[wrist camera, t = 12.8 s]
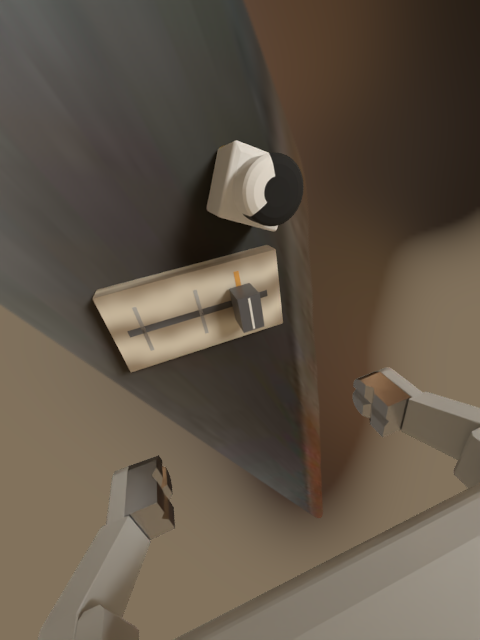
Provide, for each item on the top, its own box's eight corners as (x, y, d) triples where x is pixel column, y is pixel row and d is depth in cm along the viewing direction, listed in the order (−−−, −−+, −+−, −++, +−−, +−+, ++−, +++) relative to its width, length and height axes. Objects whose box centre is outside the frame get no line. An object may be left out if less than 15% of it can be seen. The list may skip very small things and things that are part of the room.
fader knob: (228, 288, 35) (237, 300, 32) (249, 282, 36) (259, 293, 32) (235, 319, 38) (244, 333, 34) (254, 313, 38) (264, 326, 35)
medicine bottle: (270, 166, 33) (324, 160, 23) (255, 223, 36) (297, 240, 26) (217, 146, 30) (251, 130, 20) (205, 210, 33) (230, 223, 23)
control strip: (96, 289, 34) (92, 298, 31) (267, 244, 38) (275, 249, 35) (132, 360, 40) (130, 372, 37) (275, 314, 44) (283, 323, 41)
